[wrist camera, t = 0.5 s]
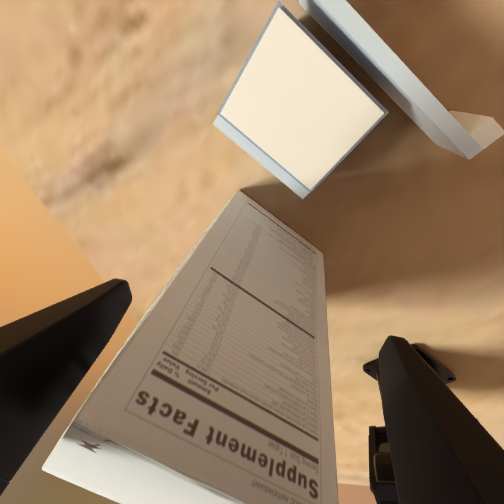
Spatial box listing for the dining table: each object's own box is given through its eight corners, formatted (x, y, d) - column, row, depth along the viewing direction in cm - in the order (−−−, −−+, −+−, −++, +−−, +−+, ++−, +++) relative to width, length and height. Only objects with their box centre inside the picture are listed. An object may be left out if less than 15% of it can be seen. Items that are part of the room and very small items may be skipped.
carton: (370, 106, 15) (389, 112, 11) (305, 178, 18) (302, 202, 14) (288, 24, 14) (278, -1, 10) (233, 117, 17) (210, 125, 13)
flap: (461, 122, 14) (505, 132, 11) (435, 144, 15) (469, 160, 12) (320, -32, 12) (322, -77, 9) (299, 4, 13) (294, -25, 10)
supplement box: (189, 256, 24) (28, 468, 11) (237, 185, 19) (47, 420, 6) (264, 307, 26) (208, 547, 12) (327, 254, 21) (350, 565, 7)
